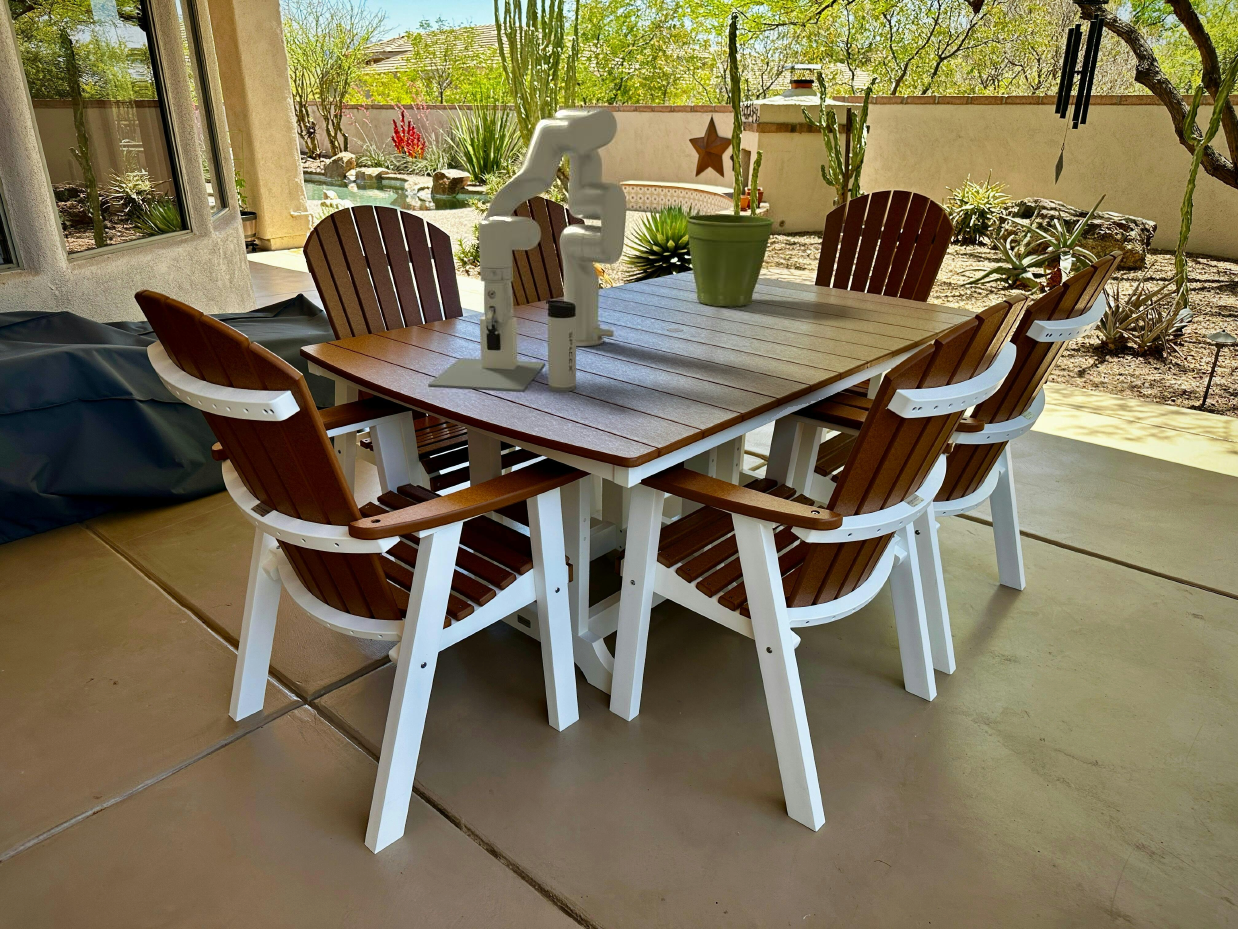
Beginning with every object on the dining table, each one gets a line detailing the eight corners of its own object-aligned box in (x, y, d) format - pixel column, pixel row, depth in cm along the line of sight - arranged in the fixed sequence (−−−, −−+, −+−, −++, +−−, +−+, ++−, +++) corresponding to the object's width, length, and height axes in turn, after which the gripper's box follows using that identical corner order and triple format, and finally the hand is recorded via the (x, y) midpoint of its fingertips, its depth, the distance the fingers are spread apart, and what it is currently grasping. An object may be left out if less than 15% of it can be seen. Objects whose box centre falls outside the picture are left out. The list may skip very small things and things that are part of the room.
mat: (544, 364, 204) (544, 362, 204) (523, 391, 182) (523, 389, 182) (459, 359, 206) (459, 357, 206) (428, 386, 184) (428, 384, 184)
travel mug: (547, 384, 187) (545, 297, 180) (575, 384, 188) (575, 297, 180) (547, 392, 181) (545, 303, 174) (576, 392, 182) (576, 303, 175)
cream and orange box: (517, 364, 201) (516, 316, 196) (513, 369, 197) (512, 320, 192) (486, 363, 202) (484, 315, 197) (481, 367, 198) (479, 318, 193)
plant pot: (684, 293, 301) (688, 213, 291) (765, 297, 298) (772, 216, 287) (679, 308, 274) (683, 220, 263) (768, 313, 270) (775, 223, 260)
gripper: (502, 280, 182) (505, 354, 189) (520, 269, 198) (522, 338, 205) (470, 279, 183) (474, 353, 190) (490, 268, 199) (493, 336, 206)
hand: (499, 345), depth 197 cm, fingers open, 9 cm apart
